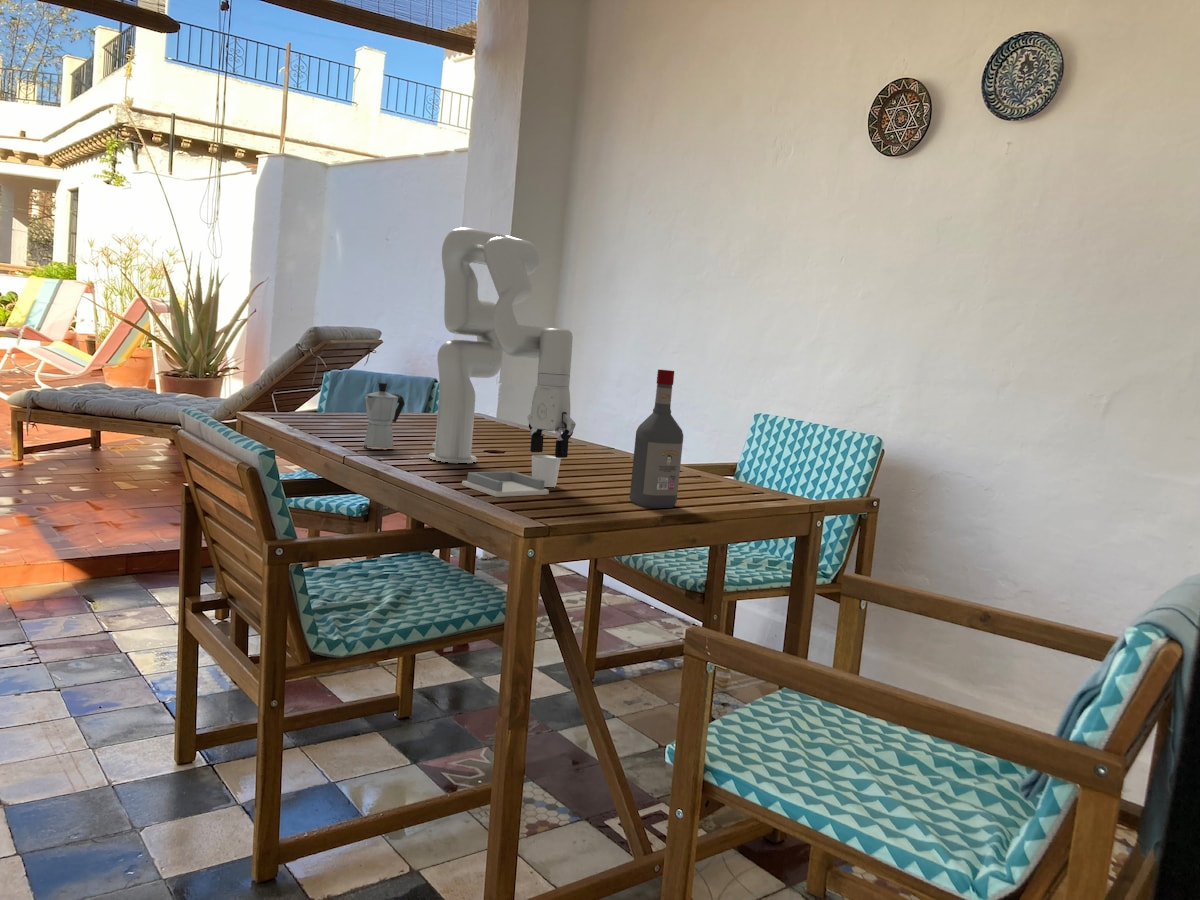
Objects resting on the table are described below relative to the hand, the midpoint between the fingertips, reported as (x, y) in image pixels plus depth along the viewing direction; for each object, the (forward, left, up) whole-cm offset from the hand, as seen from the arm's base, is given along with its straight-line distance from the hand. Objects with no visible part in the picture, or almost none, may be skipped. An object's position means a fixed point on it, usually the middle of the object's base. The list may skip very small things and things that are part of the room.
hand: (548, 454), depth 220 cm
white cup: (-1, 0, -8) cm, 8 cm away
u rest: (+2, -13, -7) cm, 15 cm away
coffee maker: (-61, -12, -8) cm, 62 cm away
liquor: (+24, +12, -8) cm, 28 cm away
